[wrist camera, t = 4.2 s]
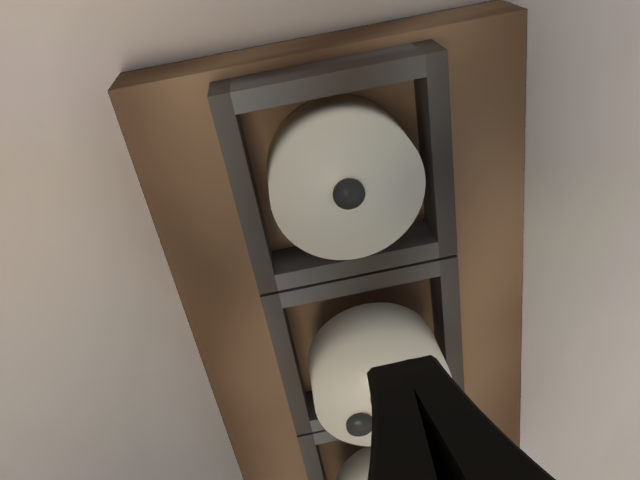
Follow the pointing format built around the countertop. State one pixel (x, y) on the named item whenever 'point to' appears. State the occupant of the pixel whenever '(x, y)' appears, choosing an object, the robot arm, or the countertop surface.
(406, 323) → the button three
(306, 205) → the button one
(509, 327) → the button panel
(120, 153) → the countertop surface
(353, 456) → the button two
